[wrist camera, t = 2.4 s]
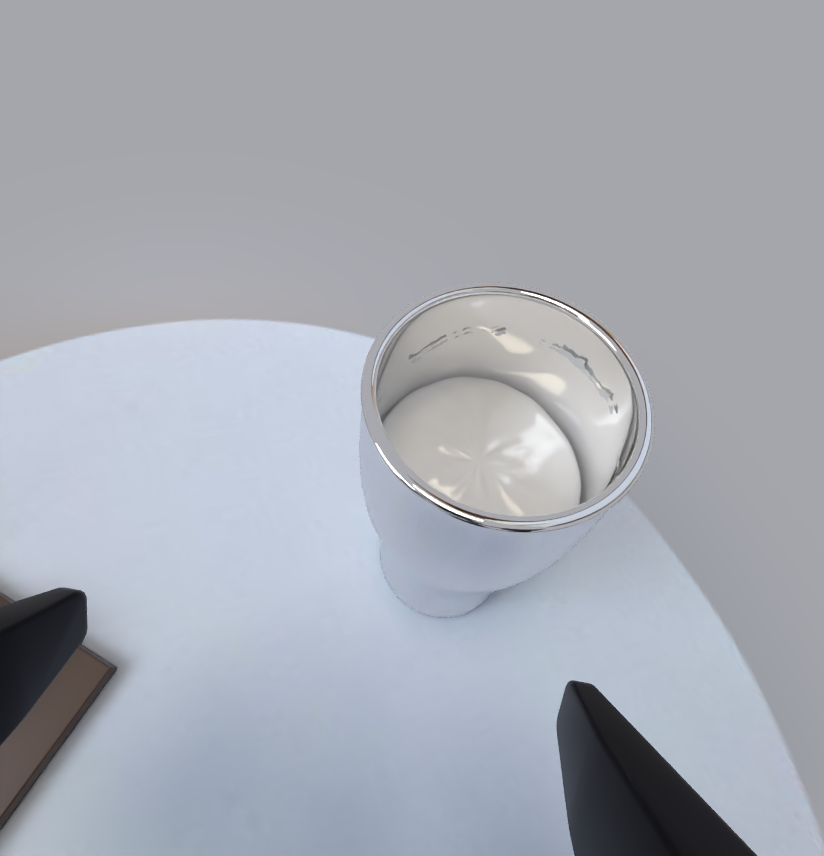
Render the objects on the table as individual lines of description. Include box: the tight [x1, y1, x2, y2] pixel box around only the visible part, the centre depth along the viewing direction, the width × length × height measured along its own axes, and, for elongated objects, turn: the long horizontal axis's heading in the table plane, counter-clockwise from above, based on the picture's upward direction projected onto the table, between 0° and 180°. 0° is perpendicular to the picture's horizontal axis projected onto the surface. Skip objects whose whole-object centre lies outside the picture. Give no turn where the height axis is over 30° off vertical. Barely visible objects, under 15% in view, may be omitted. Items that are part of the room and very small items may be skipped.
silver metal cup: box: [359, 282, 655, 618], centre depth 17 cm, size 7×7×15 cm
